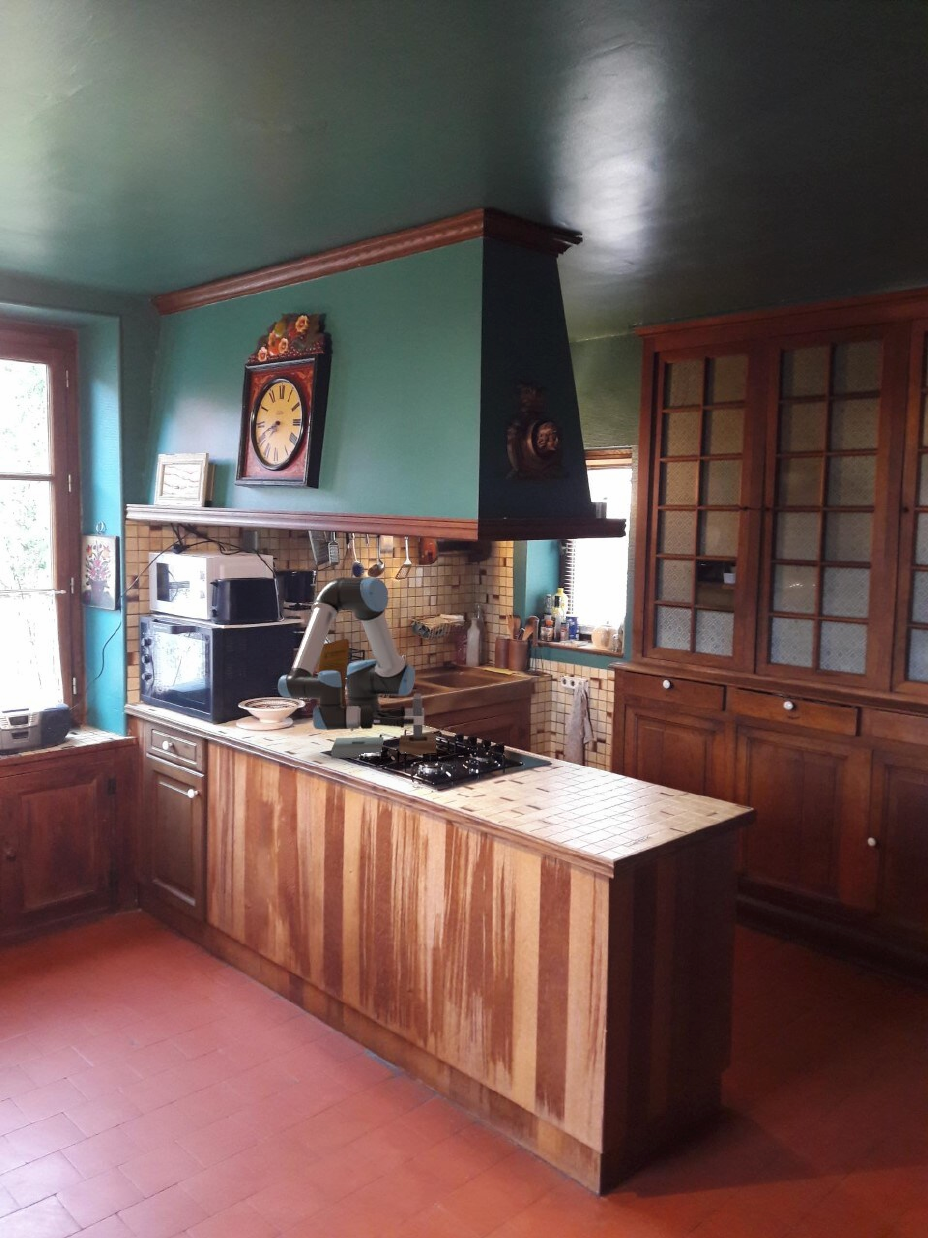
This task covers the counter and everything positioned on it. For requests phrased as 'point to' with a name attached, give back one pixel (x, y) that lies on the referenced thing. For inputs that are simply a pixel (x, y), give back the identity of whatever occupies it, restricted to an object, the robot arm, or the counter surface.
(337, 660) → the pancake mix bag
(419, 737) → the t key
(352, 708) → the robot arm
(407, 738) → the block
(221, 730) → the counter surface
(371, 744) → the cover plate
